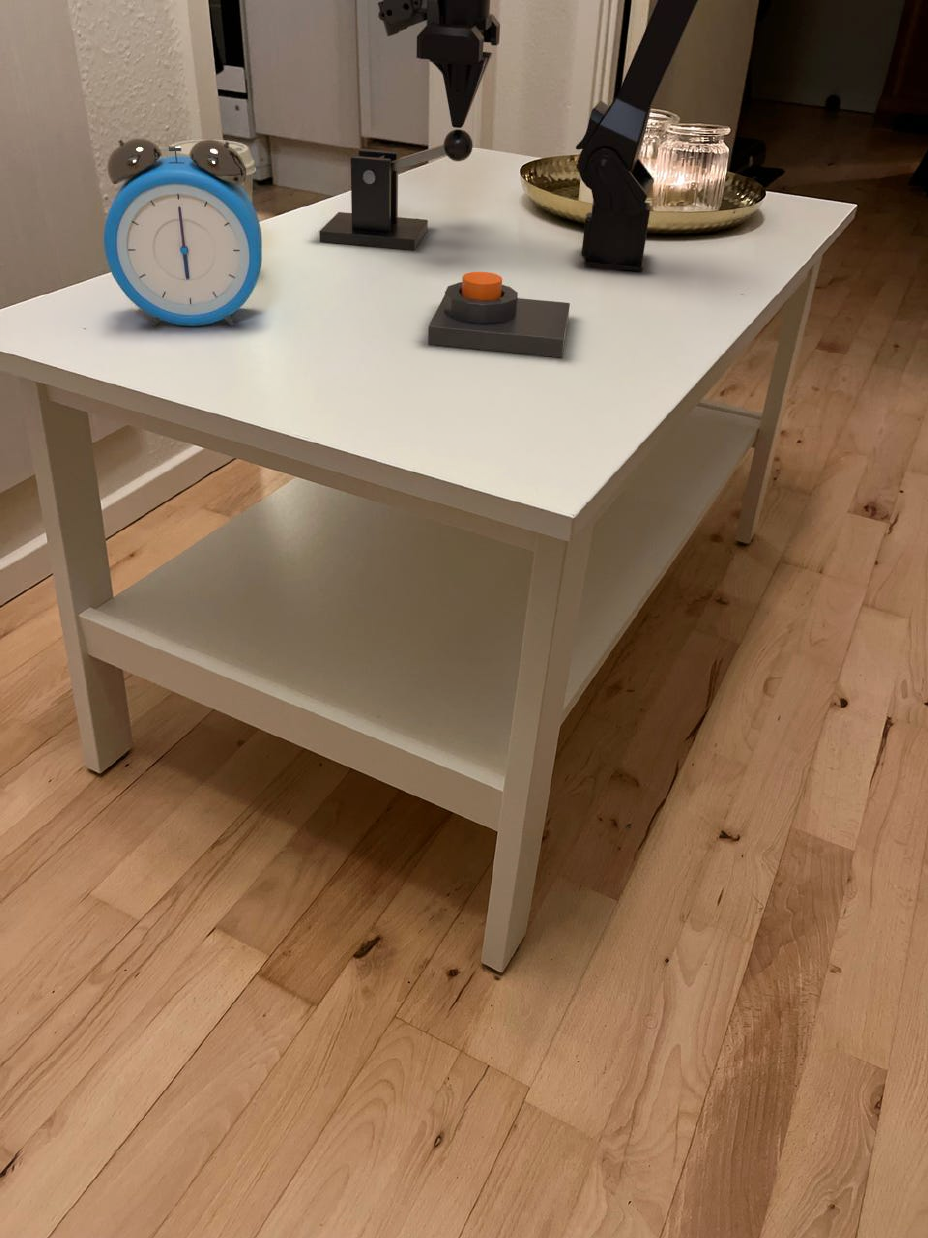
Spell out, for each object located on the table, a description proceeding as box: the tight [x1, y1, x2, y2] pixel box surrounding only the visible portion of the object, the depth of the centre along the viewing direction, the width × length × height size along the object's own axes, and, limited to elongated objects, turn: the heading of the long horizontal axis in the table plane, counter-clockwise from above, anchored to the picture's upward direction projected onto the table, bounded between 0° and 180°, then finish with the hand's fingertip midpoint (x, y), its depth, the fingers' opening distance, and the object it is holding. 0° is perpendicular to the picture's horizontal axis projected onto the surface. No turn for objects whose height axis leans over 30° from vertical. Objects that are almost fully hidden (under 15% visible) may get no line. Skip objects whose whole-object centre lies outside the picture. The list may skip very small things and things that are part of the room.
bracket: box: [318, 148, 429, 251], centre depth 113 cm, size 11×9×9 cm
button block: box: [427, 281, 571, 358], centre depth 91 cm, size 12×10×4 cm
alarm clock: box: [103, 137, 263, 327], centre depth 86 cm, size 13×6×15 cm, turn 100°
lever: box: [378, 128, 474, 172], centre depth 110 cm, size 13×3×3 cm, turn 82°
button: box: [461, 271, 503, 300], centre depth 89 cm, size 4×4×2 cm
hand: (457, 126), depth 108 cm, fingers closed
